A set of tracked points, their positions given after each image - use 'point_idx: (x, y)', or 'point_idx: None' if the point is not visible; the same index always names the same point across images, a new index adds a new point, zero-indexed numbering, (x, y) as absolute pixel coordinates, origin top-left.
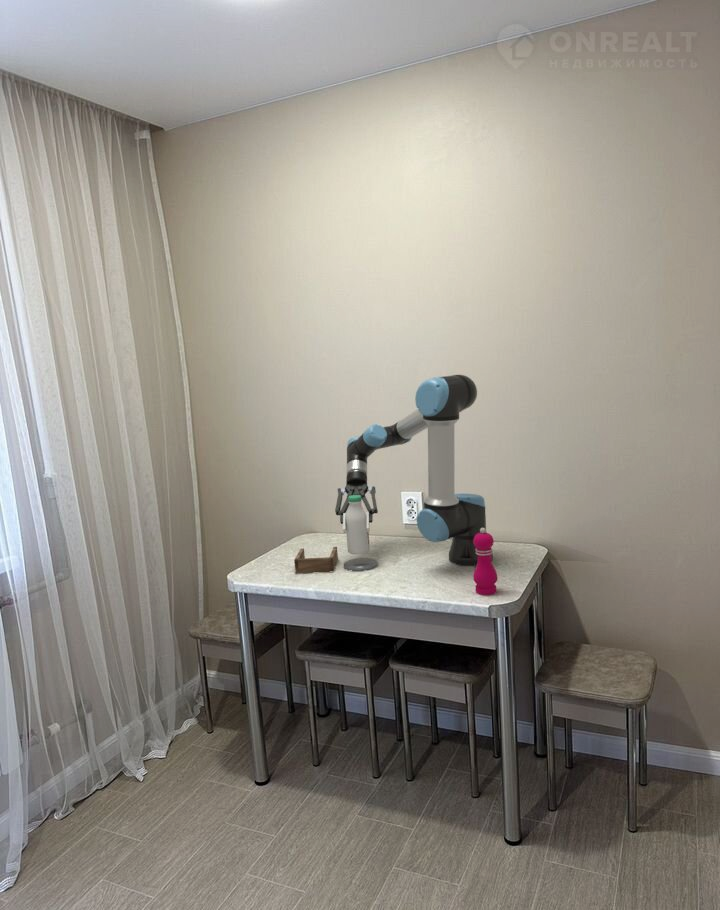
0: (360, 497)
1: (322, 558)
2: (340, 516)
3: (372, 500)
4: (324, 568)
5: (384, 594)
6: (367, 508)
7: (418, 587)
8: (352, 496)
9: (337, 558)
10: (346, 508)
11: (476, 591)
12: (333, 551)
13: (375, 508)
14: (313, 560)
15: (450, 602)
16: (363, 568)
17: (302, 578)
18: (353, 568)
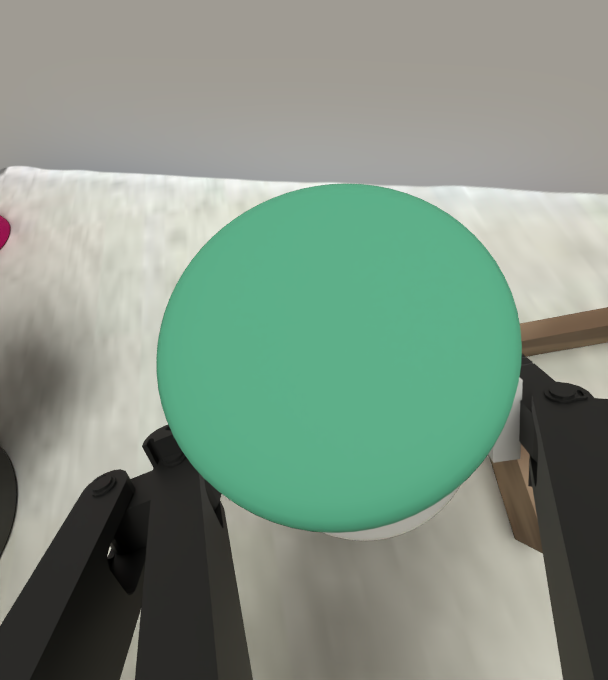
0: (174, 300)
1: (528, 324)
2: (543, 375)
3: (50, 632)
4: None
5: (223, 187)
6: (200, 480)
7: (137, 243)
8: (372, 275)
9: (513, 519)
10: (544, 511)
11: (6, 223)
12: (523, 447)
13: (102, 481)
14: (574, 315)
15: (74, 171)
16: None
17: (563, 274)
18: None
